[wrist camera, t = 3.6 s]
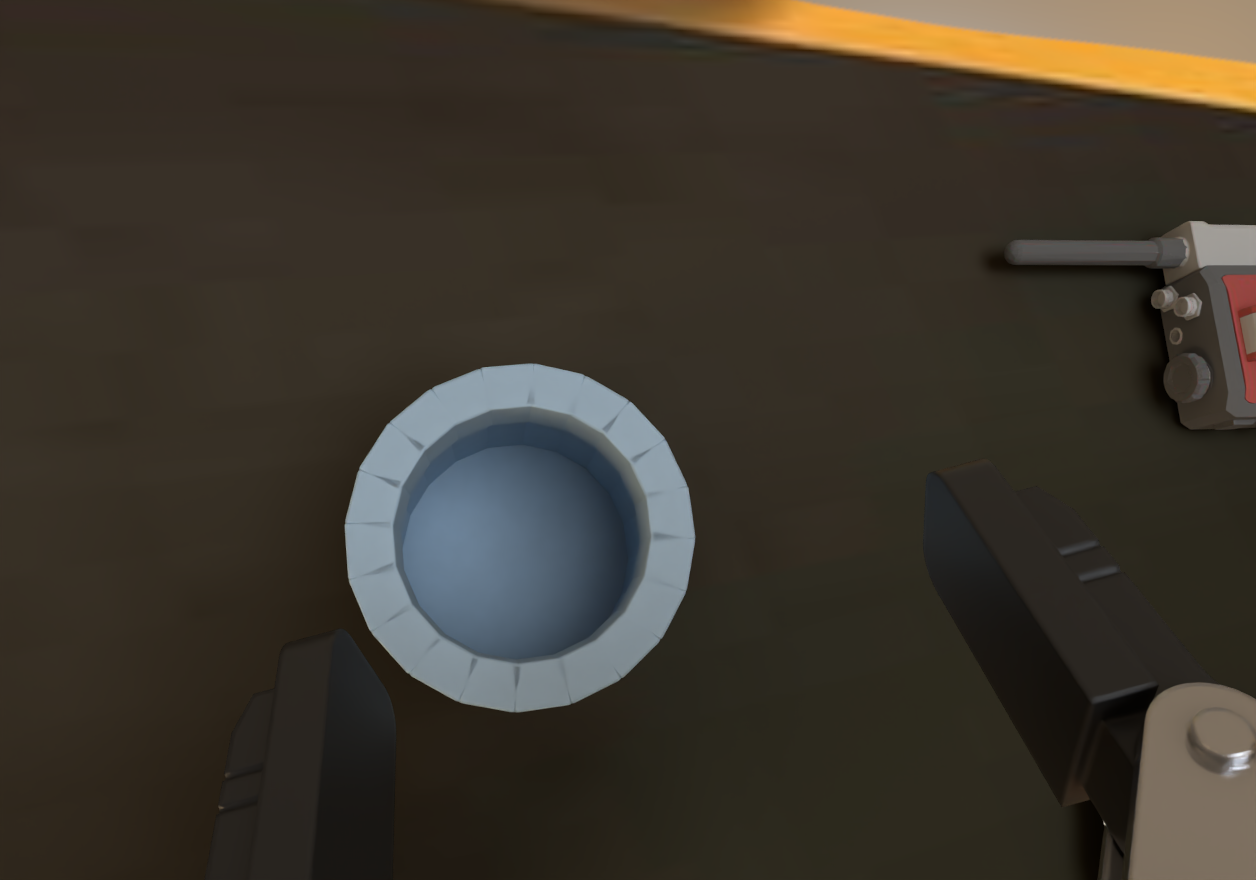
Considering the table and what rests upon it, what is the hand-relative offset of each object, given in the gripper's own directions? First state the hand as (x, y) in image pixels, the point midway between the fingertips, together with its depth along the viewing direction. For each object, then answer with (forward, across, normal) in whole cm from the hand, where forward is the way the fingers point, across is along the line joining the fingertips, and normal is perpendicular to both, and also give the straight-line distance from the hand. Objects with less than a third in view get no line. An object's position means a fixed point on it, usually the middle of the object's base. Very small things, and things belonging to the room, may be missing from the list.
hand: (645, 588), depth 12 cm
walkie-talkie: (+20, -26, +18) cm, 38 cm away
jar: (+15, +5, +14) cm, 21 cm away
